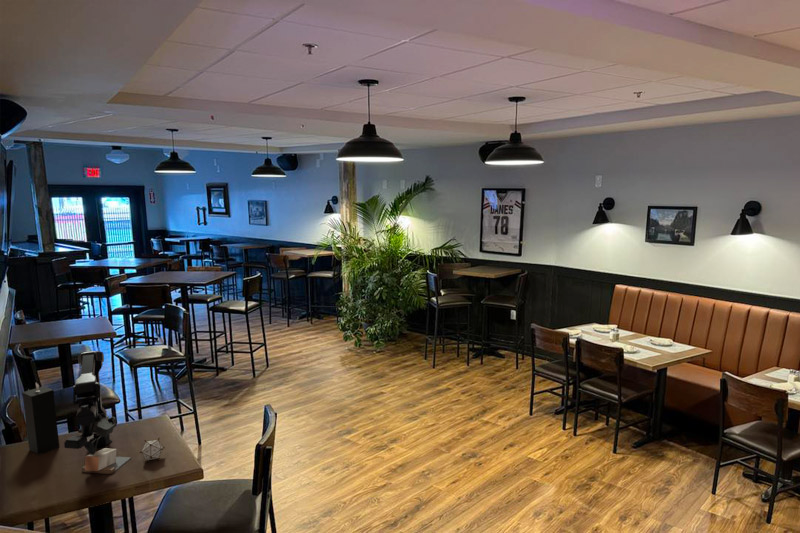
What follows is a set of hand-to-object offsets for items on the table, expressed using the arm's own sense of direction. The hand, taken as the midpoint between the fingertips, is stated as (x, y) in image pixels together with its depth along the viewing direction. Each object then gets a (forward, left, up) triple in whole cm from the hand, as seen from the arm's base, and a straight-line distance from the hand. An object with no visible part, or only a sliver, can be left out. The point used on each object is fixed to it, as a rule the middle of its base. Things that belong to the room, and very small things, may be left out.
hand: (92, 454), depth 184 cm
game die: (+15, +13, -8) cm, 21 cm away
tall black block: (-34, +15, -8) cm, 38 cm away
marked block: (0, -1, -3) cm, 3 cm away
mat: (0, +8, -8) cm, 11 cm away
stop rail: (0, +2, -8) cm, 8 cm away
